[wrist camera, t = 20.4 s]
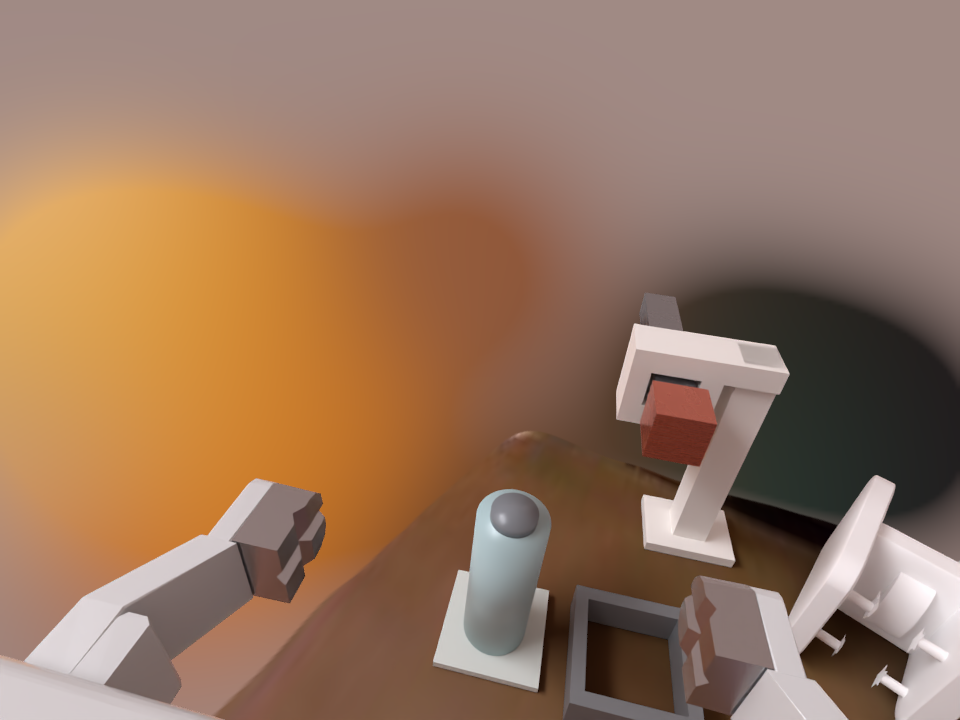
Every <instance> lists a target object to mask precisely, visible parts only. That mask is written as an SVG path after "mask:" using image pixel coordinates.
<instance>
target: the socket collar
mask: <svg viewBox="0 0 960 720" xmlns="http://www.w3.org/2000/svg"><path fill="white" fill-rule="evenodd" d="M679 614H680V608H676V607H672V606H668V605H663V604H659V603H654V602H650V601H646V600H641V599H637V598H632V597H628V596H624V595H619V594H615V593H610V592H606V591H602V590H597V589H593V588H588V587H584V586H580V585H577V586H576V589H575V593H574V596H573V600H572V603H571V610H570V624H569V638H568V653H567V667H566V681H565V696H564V710H563V720H704V714H703V708H702V707H698V706H695V705H691V704H687V703H686V699H685V691H684V682H683V674H682V667H683V665H684V663H685V661H686V659H687V655H686V654H685V652H684V651H683V650H682V648H681V647H680V645H679V636H678V620H679ZM588 621H591V622H595V623H600V624H604V625H608V626H612V627H617V628H621V629H625V630H629V631H634V632H638V633H642V634H646V635H651V636H655V637H659V638H663V639H668V644H669V655H670V666H671V677H672V688H673V699H674V710H675V714H673V713H669V712H665V711H661V710H658V709H654V708H650V707H646V706H642V705H638V704H634V703H630V702H626V701H622V700H618V699H614V698H610V697H606V696H603V695H599V694H595V693H591V692H587V691H585V674H586V650H587V625H588Z"/></svg>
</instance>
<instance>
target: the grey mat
mask: <svg viewBox="0 0 960 720" xmlns="http://www.w3.org/2000/svg"><path fill="white" fill-rule="evenodd" d="M468 580H469V572H466V571H461V570H458V574H457V578H456V581H455V585H454V588H453V592H452V596H451V599H450V603H449V606H448V610H447V614H446V617H445V621H444V624H443V628H442V632H441V635H440V639H439V642H438V646H437V650H436V653H435V657H434V660H433V666H436V667H440V668H444V669H448V670H452V671H455V672H459V673H463V674H467V675H471V676H475V677H479V678H482V679H486V680H490V681H494V682H498V683H502V684H506V685H510V686H513V687H517V688H521V689H525V690H529V691H533V692H538V687H539V678H540V668H541V659H542V650H543V641H544V632H545V623H546V614H547V605H548V596H549V591H548V590H544V589H539V588H536V590H535V594H534V598H533V602H532V606H531V610H530V614H529V618H528V622H527V626H526V631H525V635H524V638H523V640H522V642H521V644H520V645H519V646H518V647H517V648H516V649H515V650H514V651H512V652H511V653H508V654H506V655H502V656H491V655H487V654H484V653H482V652H480V651H479V650H477V649H476V648H475V647H474V646H473V645H472V644H471V643H470V642H469V640H468V638H467V637H466V634H465V631H464V613H465V605H466V597H467V589H468Z"/></svg>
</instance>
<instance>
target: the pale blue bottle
mask: <svg viewBox="0 0 960 720" xmlns="http://www.w3.org/2000/svg"><path fill="white" fill-rule="evenodd" d="M550 529H551V518H550V514H549V512H548V510H547V509H546V507H545V506H544V505H543V503H542V502H541V501H540V500H538V499H537V498H536V497H534V496H532V495H530V494H528V493H526V492H523V491H519V490H512V489H507V490H500V491H496V492H494V493H491V494H490V495H488V496H487V497H485V498H484V499H483V500H482V502H481V503H480V505H479V507H478V509H477V514H476V523H475V531H474V539H473V547H472V556H471V564H470V572H469V580H468V589H467V597H466V605H465V613H464V631H465V634H466V637H467V638H468V640H469V642H470V643H471V644H472V645H473V646H474V647H475V648H476V649H477V650H479V651H480V652H482V653H484V654H487V655H491V656H502V655H506V654H508V653H511V652H512V651H514V650H515V649H516V648H517V647H518V646H519V645H520V644H521V642H522V640H523V638H524V635H525V631H526V626H527V622H528V618H529V614H530V610H531V606H532V602H533V598H534V594H535V590H536V586H537V582H538V578H539V574H540V570H541V566H542V562H543V558H544V554H545V550H546V546H547V542H548V538H549V534H550Z"/></svg>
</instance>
